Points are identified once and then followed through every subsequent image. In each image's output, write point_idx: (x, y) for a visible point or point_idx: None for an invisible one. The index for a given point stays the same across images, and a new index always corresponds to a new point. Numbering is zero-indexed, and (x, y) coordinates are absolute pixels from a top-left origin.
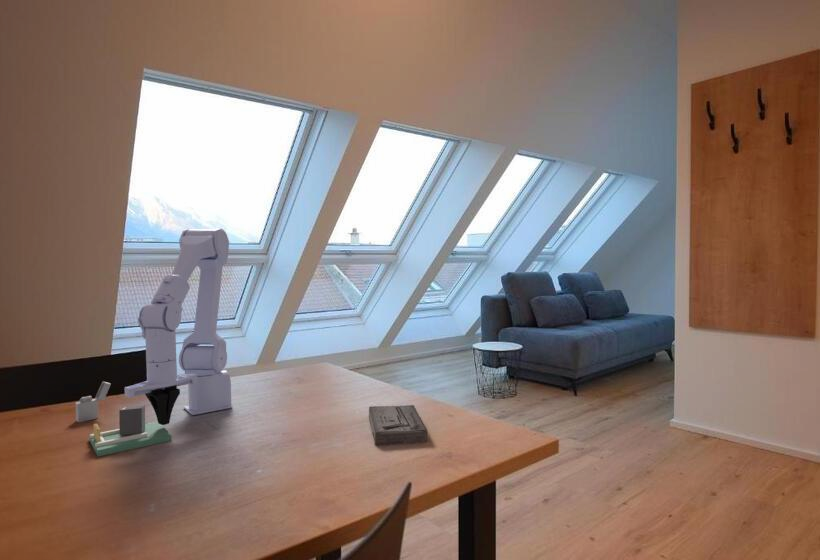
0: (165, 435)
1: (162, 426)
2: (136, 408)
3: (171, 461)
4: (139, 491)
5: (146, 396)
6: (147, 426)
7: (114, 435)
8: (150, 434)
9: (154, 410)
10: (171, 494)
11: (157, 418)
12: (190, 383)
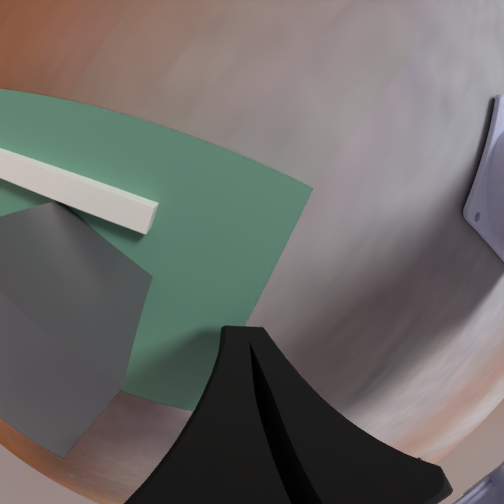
0: (177, 404)
1: (249, 308)
2: (31, 436)
3: (126, 454)
4: (61, 458)
5: (127, 502)
6: (200, 226)
7: (21, 209)
8: (138, 357)
9: (205, 387)
10: (94, 480)
11: (219, 348)
12: (471, 488)
